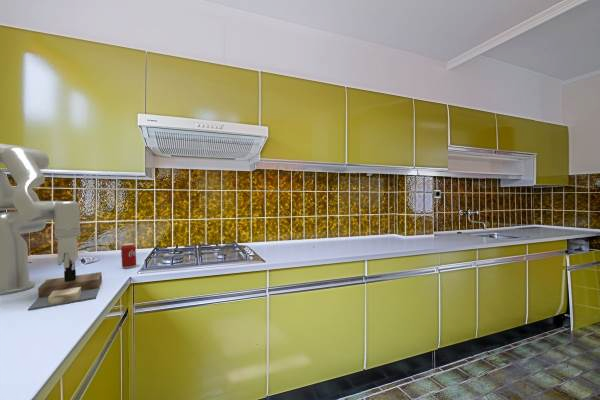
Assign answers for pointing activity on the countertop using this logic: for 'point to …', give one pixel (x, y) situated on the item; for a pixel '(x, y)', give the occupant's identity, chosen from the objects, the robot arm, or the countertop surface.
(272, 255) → the countertop surface
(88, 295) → the rubber mat
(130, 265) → the beverage can
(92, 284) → the walnut deck
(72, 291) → the beech tile
